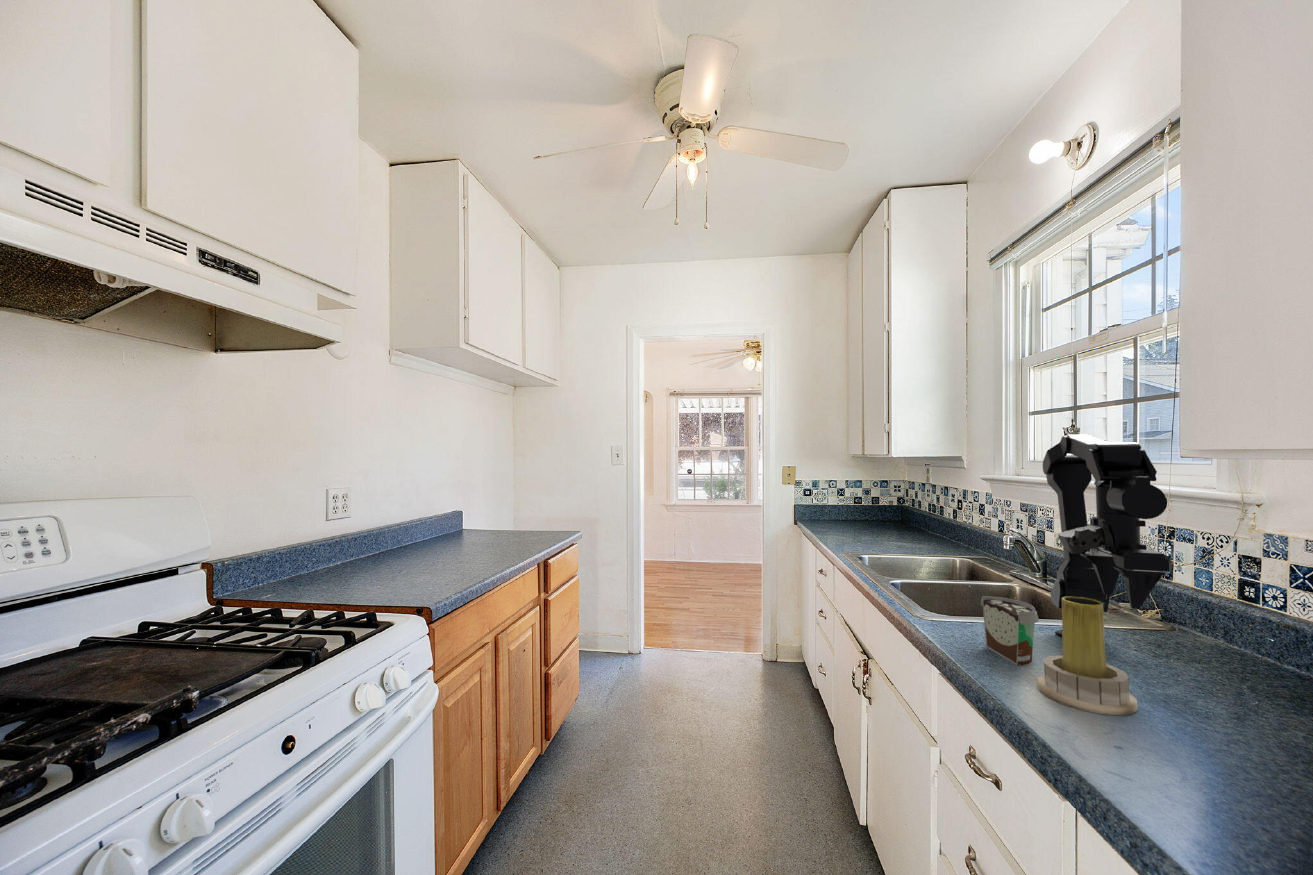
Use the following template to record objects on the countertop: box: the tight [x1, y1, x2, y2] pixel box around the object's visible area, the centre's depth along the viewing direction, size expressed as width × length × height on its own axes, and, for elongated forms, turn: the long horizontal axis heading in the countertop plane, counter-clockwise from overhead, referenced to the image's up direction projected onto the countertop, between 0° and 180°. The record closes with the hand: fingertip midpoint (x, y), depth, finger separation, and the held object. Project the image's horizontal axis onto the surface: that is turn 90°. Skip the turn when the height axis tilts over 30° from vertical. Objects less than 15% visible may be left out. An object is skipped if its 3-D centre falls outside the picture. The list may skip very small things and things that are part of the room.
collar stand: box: [1037, 655, 1138, 716], centre depth 84 cm, size 12×12×4 cm
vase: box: [1061, 596, 1107, 679], centre depth 84 cm, size 6×6×14 cm
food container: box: [980, 595, 1040, 666], centre depth 101 cm, size 12×6×10 cm, turn 179°
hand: (1120, 601), depth 92 cm, fingers open, 9 cm apart
